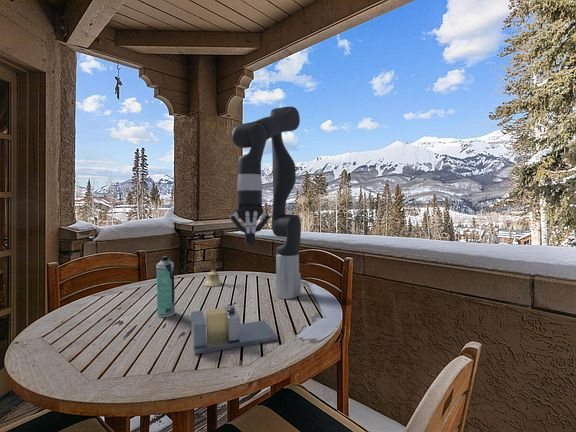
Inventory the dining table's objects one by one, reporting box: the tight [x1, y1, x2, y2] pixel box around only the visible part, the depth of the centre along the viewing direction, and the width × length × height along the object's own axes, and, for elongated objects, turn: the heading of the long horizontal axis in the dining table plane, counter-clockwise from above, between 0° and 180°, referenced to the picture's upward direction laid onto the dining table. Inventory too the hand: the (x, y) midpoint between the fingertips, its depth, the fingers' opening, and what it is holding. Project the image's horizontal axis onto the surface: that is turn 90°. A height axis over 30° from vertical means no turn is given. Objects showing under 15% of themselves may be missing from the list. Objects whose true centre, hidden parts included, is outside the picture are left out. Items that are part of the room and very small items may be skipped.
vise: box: [190, 310, 278, 355], centre depth 86 cm, size 22×12×7 cm, turn 111°
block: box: [205, 307, 227, 340], centre depth 85 cm, size 5×4×7 cm
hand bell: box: [203, 250, 223, 288], centre depth 141 cm, size 8×8×16 cm
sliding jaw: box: [222, 305, 241, 341], centre depth 86 cm, size 3×10×7 cm, turn 21°
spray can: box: [156, 255, 176, 318], centre depth 104 cm, size 6×6×20 cm
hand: (250, 245), depth 95 cm, fingers closed
